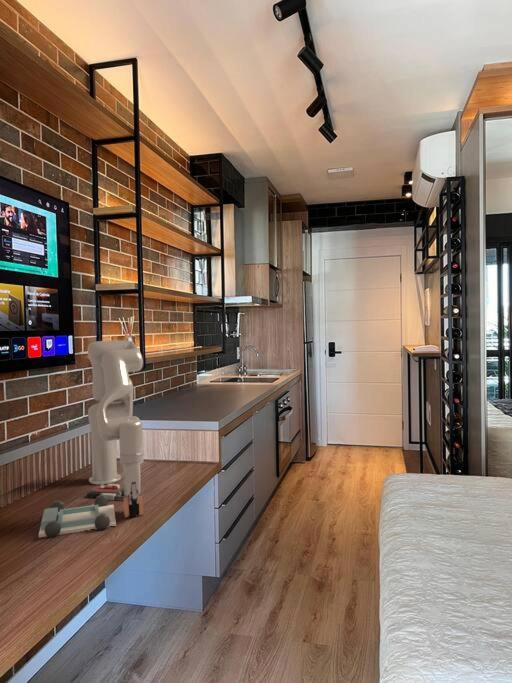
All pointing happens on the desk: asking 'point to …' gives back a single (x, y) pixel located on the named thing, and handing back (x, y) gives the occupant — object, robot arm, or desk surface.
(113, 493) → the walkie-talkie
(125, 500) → the orange-brown block
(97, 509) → the chassis
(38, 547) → the desk surface
